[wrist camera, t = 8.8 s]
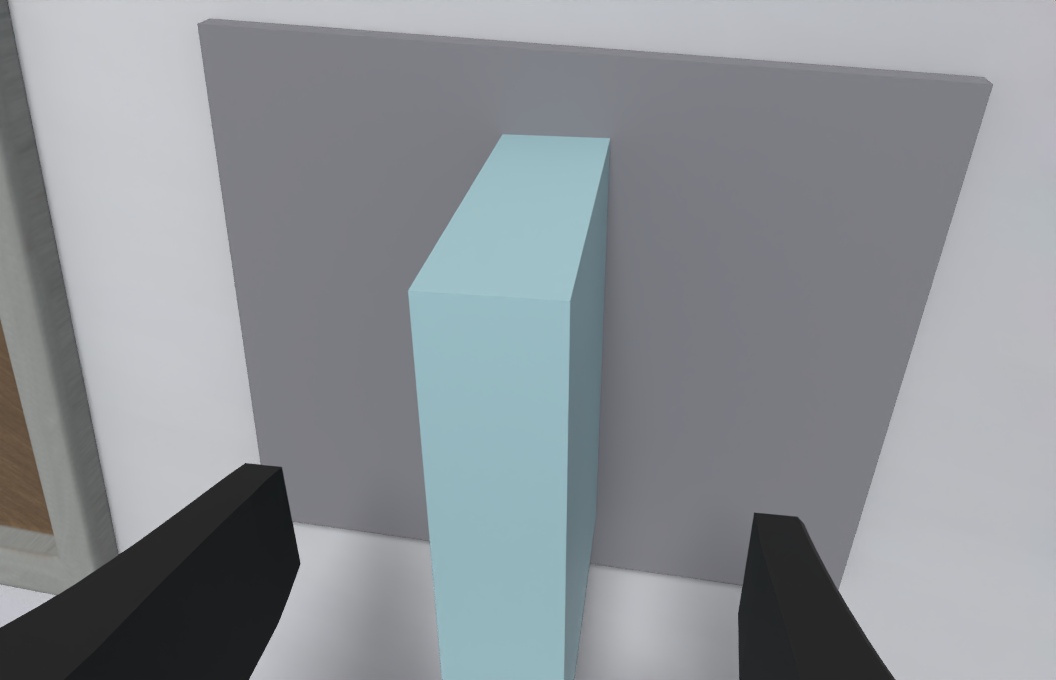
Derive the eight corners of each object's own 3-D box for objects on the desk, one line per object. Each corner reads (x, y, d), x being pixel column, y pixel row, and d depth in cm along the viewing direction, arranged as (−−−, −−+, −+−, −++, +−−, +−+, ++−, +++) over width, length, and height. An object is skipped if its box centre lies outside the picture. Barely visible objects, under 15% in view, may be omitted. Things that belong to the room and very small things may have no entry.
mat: (984, 77, 15) (992, 84, 15) (832, 582, 21) (835, 598, 21) (210, 18, 17) (197, 23, 16) (276, 504, 23) (268, 518, 22)
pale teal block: (610, 138, 16) (569, 300, 11) (595, 515, 21) (562, 768, 15) (502, 134, 16) (408, 291, 11) (511, 507, 21) (448, 753, 15)
